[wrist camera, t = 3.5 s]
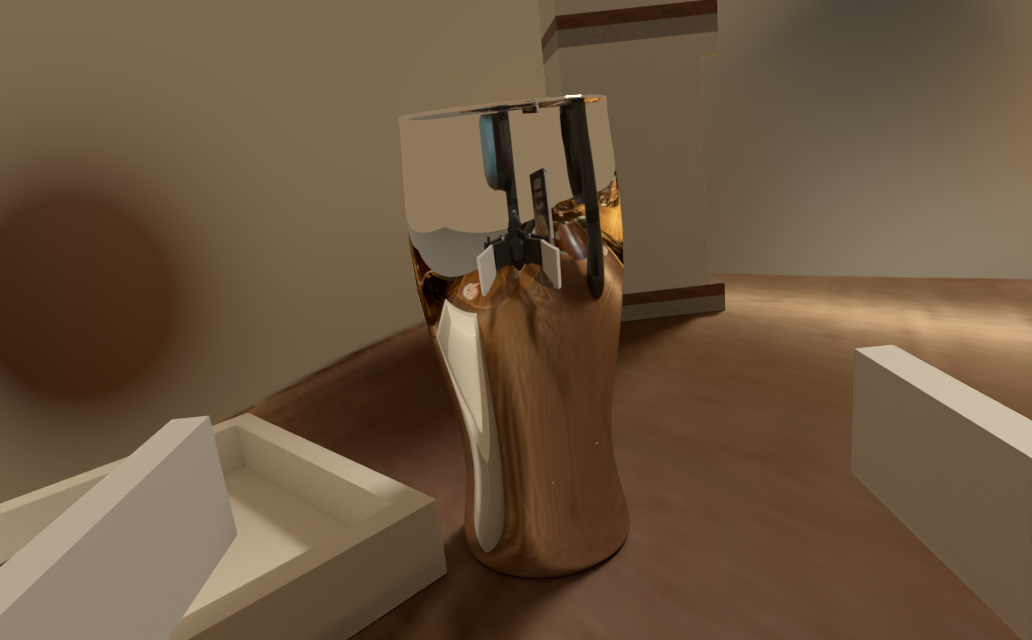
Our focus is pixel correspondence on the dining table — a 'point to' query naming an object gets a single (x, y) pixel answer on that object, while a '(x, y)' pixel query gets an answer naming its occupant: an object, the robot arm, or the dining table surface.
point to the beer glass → (525, 318)
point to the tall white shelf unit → (646, 134)
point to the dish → (285, 539)
